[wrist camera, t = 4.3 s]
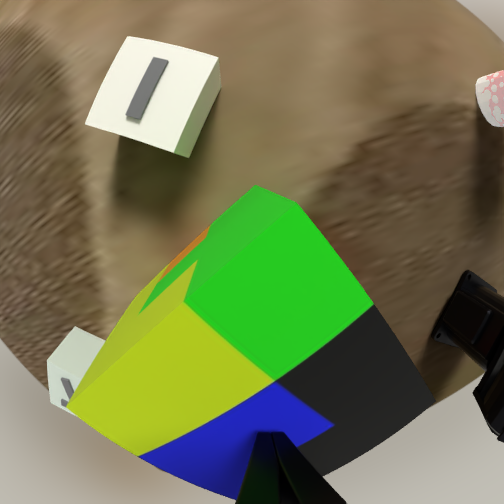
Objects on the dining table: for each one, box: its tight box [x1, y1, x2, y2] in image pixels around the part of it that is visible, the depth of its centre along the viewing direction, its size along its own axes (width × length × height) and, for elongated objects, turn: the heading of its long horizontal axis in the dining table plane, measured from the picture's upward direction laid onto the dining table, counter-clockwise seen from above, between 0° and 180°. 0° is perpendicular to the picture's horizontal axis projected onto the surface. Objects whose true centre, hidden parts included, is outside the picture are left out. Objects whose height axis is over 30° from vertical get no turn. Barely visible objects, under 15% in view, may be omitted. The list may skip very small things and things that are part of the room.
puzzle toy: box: [66, 185, 436, 500], centre depth 13 cm, size 10×10×10 cm
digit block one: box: [85, 36, 221, 158], centre depth 12 cm, size 4×4×5 cm
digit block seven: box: [47, 327, 105, 417], centre depth 16 cm, size 4×4×5 cm
